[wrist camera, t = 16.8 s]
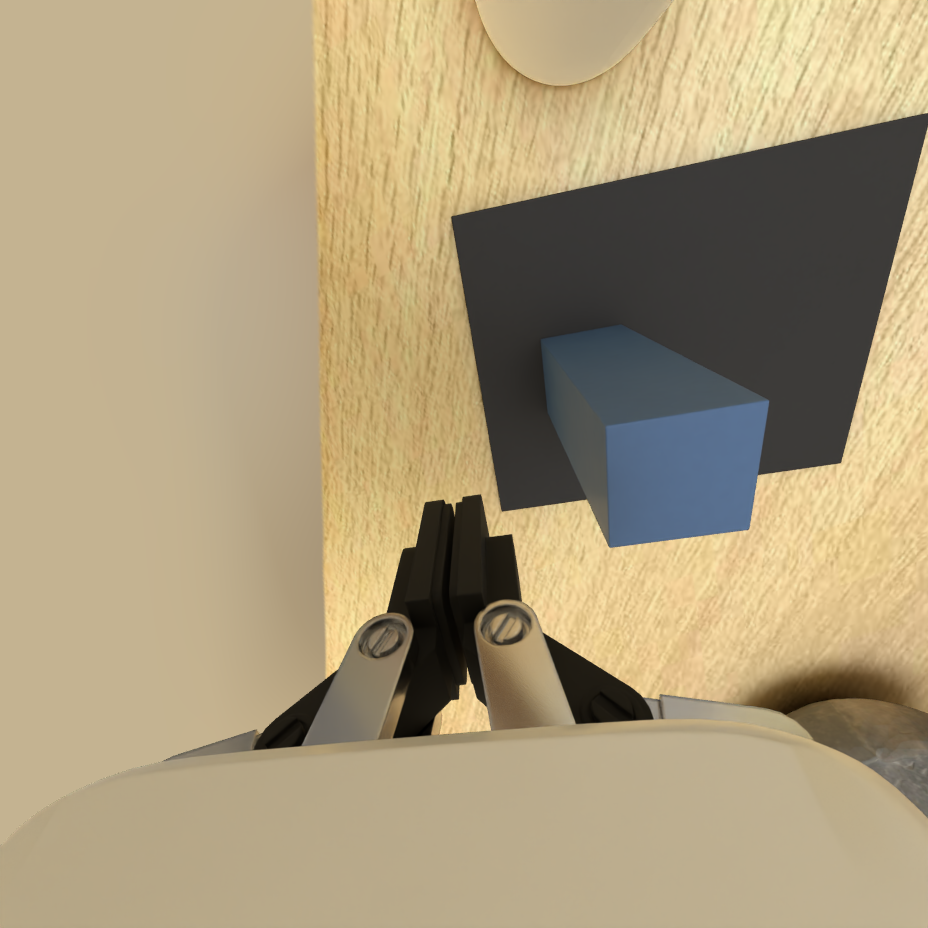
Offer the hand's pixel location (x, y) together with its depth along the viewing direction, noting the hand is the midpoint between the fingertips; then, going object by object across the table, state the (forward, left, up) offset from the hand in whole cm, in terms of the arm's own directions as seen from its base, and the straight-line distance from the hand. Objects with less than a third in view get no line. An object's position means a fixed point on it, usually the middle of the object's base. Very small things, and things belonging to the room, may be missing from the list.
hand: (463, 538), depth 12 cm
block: (+7, 0, -14) cm, 16 cm away
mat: (+12, 0, -15) cm, 19 cm away
